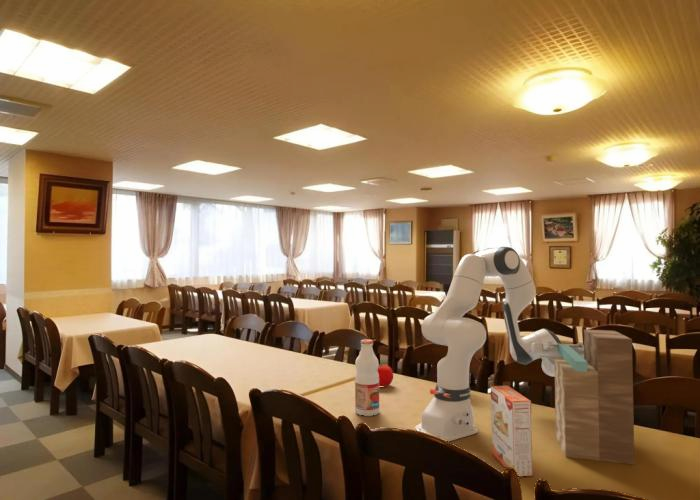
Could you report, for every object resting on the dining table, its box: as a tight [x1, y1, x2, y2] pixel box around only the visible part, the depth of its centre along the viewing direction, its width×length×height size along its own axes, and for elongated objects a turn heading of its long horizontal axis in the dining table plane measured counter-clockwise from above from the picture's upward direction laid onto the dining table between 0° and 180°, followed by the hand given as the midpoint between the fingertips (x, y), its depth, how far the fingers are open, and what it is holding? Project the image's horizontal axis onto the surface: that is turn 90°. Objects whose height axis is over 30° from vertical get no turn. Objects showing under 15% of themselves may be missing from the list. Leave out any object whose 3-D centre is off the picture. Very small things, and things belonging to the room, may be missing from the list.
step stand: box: [554, 329, 635, 465], centre depth 131 cm, size 15×18×36 cm
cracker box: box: [490, 385, 534, 478], centre depth 121 cm, size 14×6×21 cm, turn 5°
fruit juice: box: [354, 338, 380, 417], centre depth 164 cm, size 9×9×28 cm
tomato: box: [377, 363, 394, 387], centre depth 197 cm, size 12×12×10 cm
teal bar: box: [558, 343, 587, 372], centre depth 137 cm, size 26×3×3 cm, turn 164°
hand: (565, 344), depth 145 cm, fingers open, 8 cm apart
